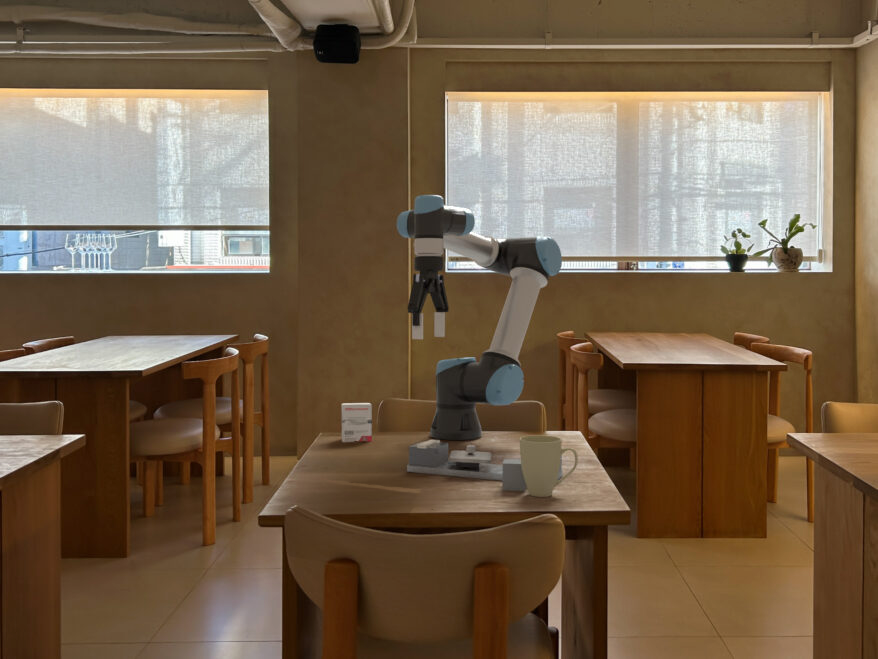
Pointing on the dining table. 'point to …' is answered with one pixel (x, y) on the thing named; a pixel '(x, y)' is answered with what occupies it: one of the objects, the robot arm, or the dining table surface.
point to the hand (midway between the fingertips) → (428, 338)
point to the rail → (450, 463)
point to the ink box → (356, 422)
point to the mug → (542, 463)
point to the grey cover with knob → (470, 457)
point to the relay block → (513, 476)
